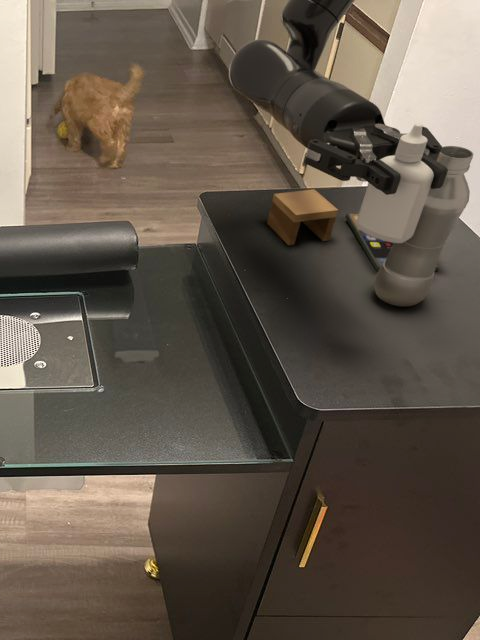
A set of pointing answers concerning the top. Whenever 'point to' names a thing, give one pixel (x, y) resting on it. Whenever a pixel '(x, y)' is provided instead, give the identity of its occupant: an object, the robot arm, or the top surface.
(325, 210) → the small wooden table
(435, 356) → the top surface
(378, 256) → the smartphone
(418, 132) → the eye dropper bottle
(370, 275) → the top surface
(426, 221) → the plastic bottle
